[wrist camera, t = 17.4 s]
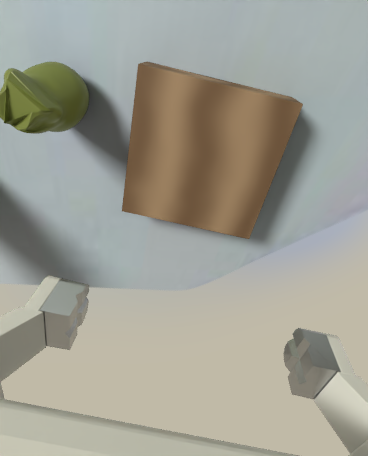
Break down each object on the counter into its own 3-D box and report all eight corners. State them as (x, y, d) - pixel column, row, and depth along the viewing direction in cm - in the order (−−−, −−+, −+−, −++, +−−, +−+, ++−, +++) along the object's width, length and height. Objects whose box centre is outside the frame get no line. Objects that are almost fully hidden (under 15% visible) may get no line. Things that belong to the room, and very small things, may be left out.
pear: (32, 90, 29) (-40, 108, 21) (60, 46, 27) (-9, 46, 19) (78, 131, 31) (29, 163, 23) (107, 93, 29) (65, 112, 21)
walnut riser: (291, 97, 28) (302, 104, 25) (245, 220, 35) (248, 239, 32) (147, 61, 27) (138, 63, 24) (130, 194, 35) (121, 210, 31)
